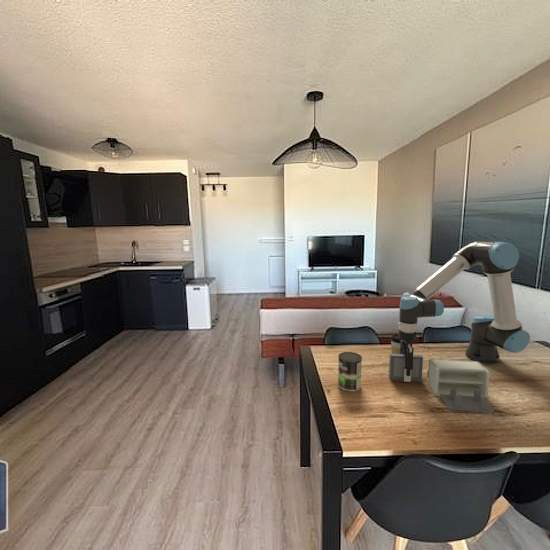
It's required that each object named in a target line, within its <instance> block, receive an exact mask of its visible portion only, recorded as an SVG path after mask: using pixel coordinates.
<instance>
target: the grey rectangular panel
mask: <svg viewBox="0 0 550 550" xmlns="http://www.w3.org/2000/svg"><path fill="white" fill-rule="evenodd" d="M388 363H389V365H388V379H389V380H391V381H404V367H405V354H392V352H390V353H389V361H388ZM423 363H424V357H423V355H422V354H413V370H411V382H422V380H423V365H424V364H423Z"/></svg>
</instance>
